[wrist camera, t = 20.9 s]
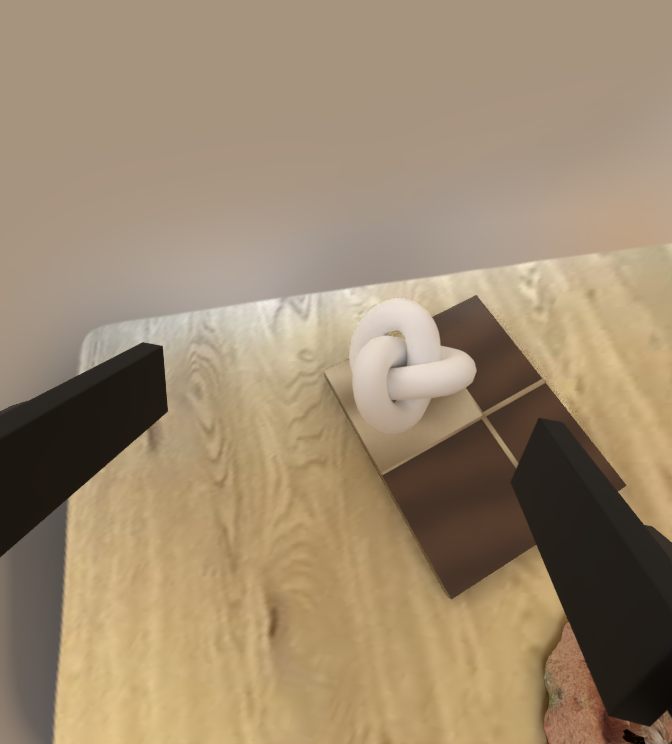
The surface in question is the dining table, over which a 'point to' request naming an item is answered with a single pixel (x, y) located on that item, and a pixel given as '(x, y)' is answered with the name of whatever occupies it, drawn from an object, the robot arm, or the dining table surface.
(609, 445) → the dining table surface
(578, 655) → the clay slab
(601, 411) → the dining table surface
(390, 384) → the white knot sculpture
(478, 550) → the board
